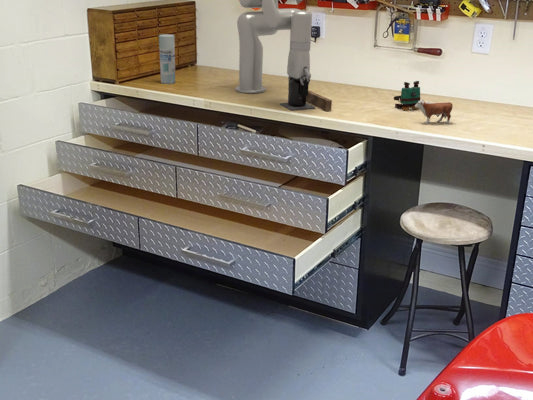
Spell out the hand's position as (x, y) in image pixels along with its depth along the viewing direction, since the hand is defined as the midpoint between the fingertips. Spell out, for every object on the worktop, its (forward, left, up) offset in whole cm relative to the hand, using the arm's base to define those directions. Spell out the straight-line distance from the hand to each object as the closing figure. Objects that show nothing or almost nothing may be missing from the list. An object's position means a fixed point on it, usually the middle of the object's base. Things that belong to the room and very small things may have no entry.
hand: (297, 92), depth 238 cm
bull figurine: (+36, +35, -6) cm, 51 cm away
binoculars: (+14, +39, -6) cm, 42 cm away
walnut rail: (+1, +8, -5) cm, 10 cm away
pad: (0, 0, -5) cm, 5 cm away
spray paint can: (-58, -34, -5) cm, 67 cm away
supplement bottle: (0, 0, -5) cm, 5 cm away
